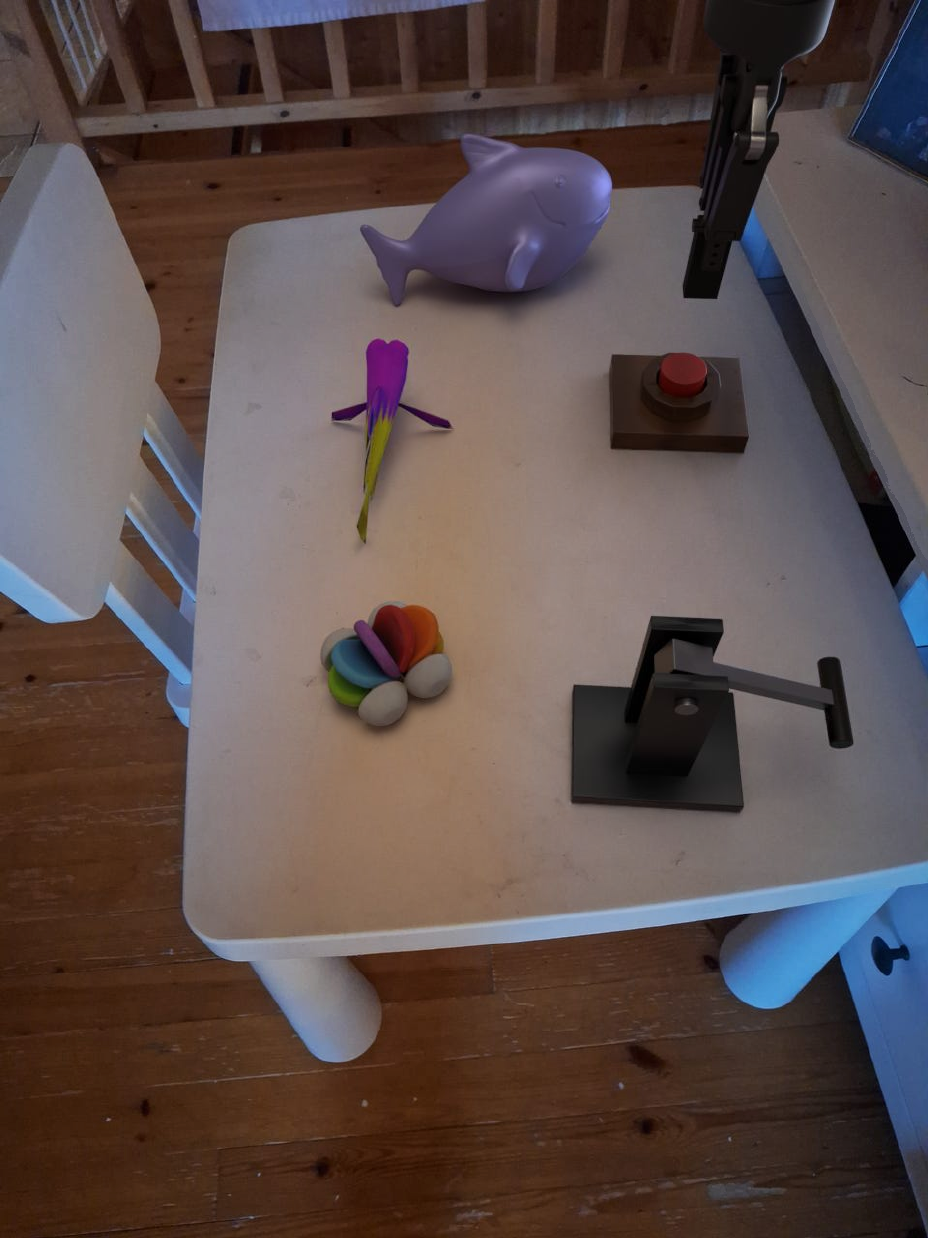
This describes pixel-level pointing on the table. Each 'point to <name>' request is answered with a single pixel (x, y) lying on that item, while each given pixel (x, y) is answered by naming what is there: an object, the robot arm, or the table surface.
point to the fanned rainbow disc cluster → (386, 661)
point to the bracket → (659, 732)
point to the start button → (682, 375)
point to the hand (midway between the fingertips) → (699, 292)
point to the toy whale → (503, 220)
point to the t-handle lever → (768, 684)
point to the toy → (382, 410)
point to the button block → (676, 408)
